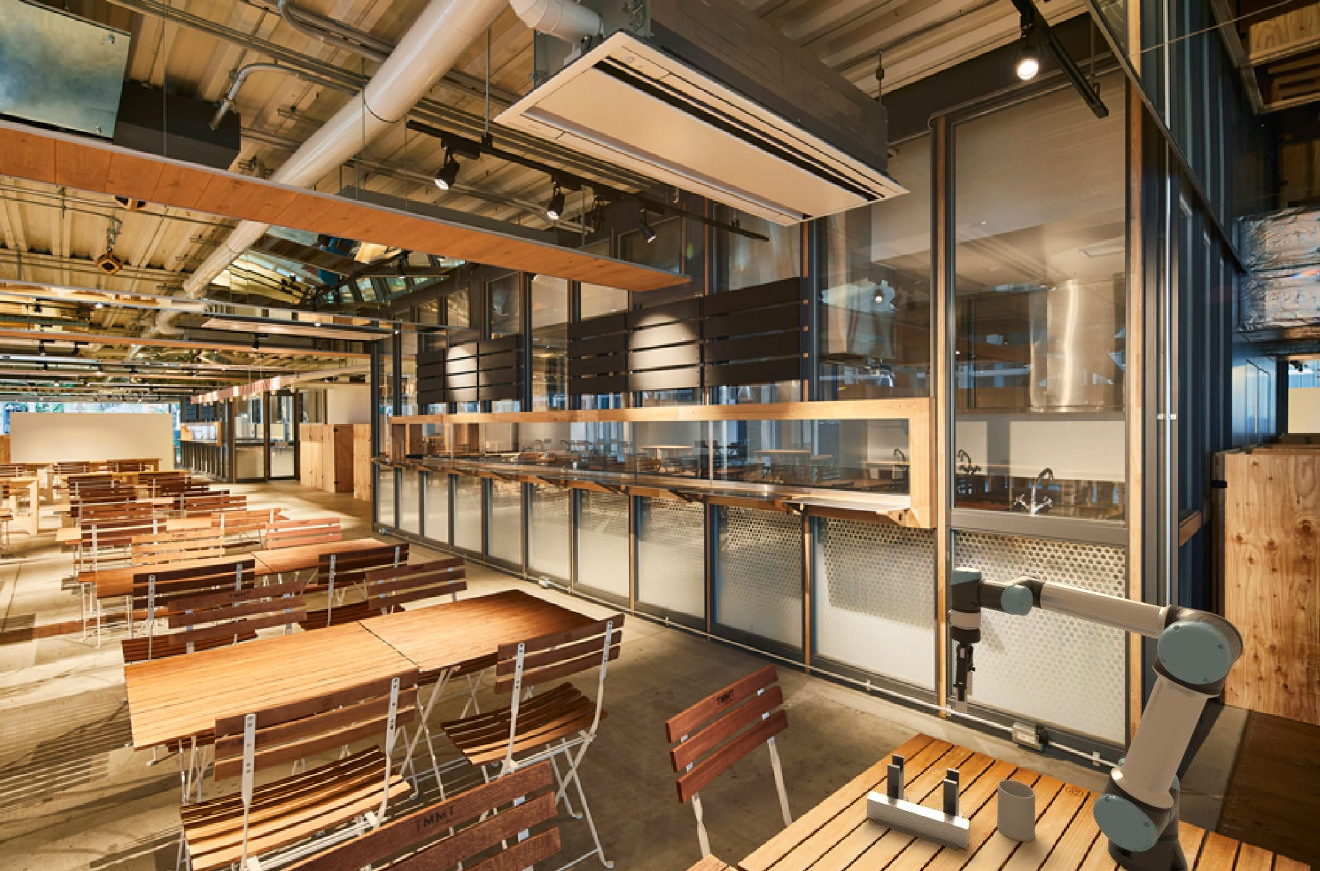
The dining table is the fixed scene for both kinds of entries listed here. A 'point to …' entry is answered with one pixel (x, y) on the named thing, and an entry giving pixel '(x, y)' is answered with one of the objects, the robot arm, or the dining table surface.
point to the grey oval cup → (1016, 810)
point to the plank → (916, 835)
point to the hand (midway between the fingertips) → (964, 703)
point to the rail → (918, 819)
